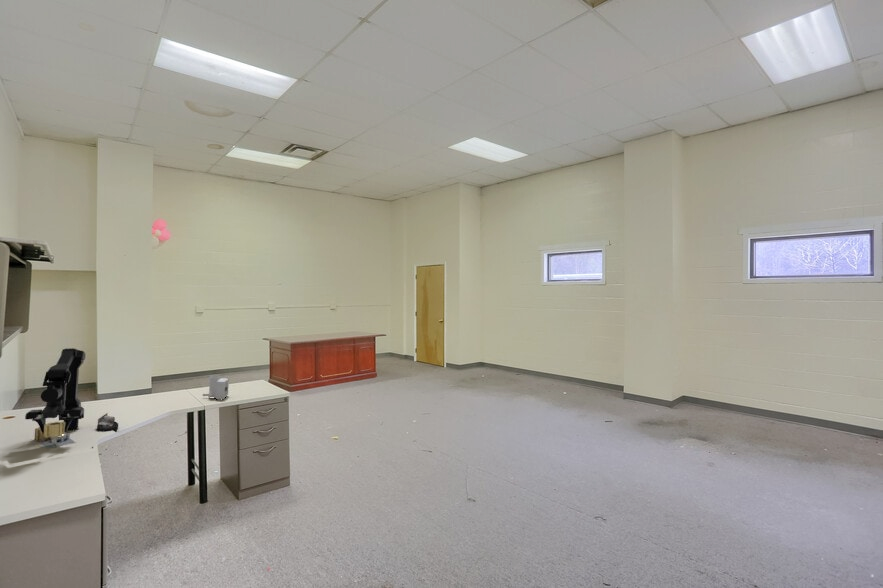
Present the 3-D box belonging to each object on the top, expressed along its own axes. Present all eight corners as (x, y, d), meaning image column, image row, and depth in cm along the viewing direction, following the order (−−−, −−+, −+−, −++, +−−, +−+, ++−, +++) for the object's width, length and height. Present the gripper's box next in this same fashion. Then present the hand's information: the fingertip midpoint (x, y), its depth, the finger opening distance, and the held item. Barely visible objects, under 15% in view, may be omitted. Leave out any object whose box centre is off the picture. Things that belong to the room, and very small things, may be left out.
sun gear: (48, 440, 197) (48, 434, 197) (66, 436, 202) (67, 431, 202) (52, 443, 193) (53, 437, 193) (71, 439, 199) (71, 434, 199)
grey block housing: (223, 400, 289) (224, 377, 289) (200, 400, 286) (201, 377, 286) (228, 396, 301) (229, 374, 301) (205, 396, 298) (206, 374, 298)
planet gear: (39, 437, 187) (40, 426, 187) (51, 432, 194) (51, 421, 194) (58, 437, 188) (58, 425, 188) (68, 432, 195) (69, 421, 195)
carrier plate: (34, 442, 197) (34, 430, 198) (62, 437, 206) (63, 425, 206) (46, 451, 187) (47, 439, 187) (75, 445, 195) (76, 434, 195)
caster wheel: (110, 439, 213) (88, 435, 212) (125, 427, 224) (105, 424, 223) (111, 426, 212) (89, 423, 211) (126, 416, 223) (106, 412, 222)
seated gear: (32, 438, 197) (33, 427, 198) (52, 435, 203) (53, 424, 203) (37, 442, 194) (37, 430, 194) (57, 438, 199) (57, 427, 199)
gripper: (20, 402, 180) (18, 440, 180) (77, 400, 188) (75, 436, 188) (31, 396, 190) (29, 432, 190) (85, 394, 198) (83, 429, 198)
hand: (54, 432), depth 191 cm, fingers closed on planet gear, 7 cm apart
